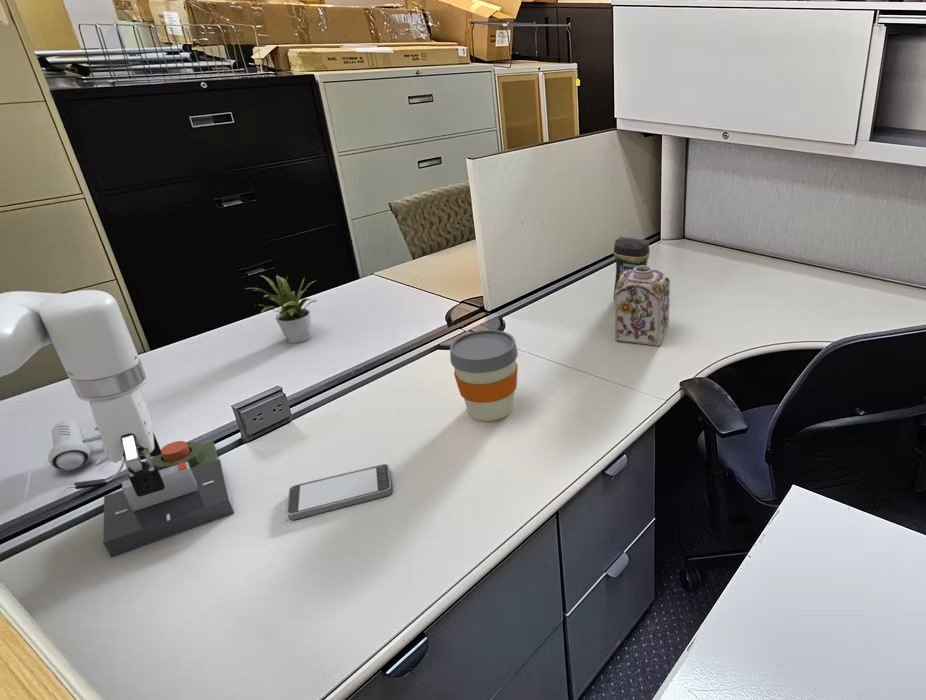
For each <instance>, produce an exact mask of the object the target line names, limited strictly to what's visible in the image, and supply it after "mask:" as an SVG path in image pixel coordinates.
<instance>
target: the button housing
mask: <svg viewBox="0 0 926 700" xmlns="http://www.w3.org/2000/svg"><path fill="white" fill-rule="evenodd" d="M185 442H186V443H187V445H188V447H189V450H190V454H189V455H188V456H186V457H184V458H182V459H180V460H177V461H174V462H165V461H164V459H163V457H162V454H160V455H158V456H154V457H151V458H152V462H153V465H154V466H157V468H158V470H162V469H166V468H169V467H172V466H175V465H178V464H179V463H182V462H185V461H186V462H188V463H189V466H190V468H194V467H197V466H200V465H204V464H207V463H210V462H213V461H216V460H219V459H220V458H219V455H218V450H217V446H216V445H215V442H214V441H210V442H207V443H203V444H200V443H197V442H195V441H185ZM145 462H146V461H145ZM146 463H147V462H146Z"/></svg>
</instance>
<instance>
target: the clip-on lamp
mask: <svg viewBox="0 0 926 700" xmlns="http://www.w3.org/2000/svg"><path fill="white" fill-rule="evenodd" d="M94 430H95V432H99V429H98V427H97V426H96V427H95V428H94ZM51 438H52V448H50V451H49V453H48V456H47V458H48V463H49V464H50V465H51V467H52V468H53V469H56V470H59V471H73V470H77V469H80V468H82V467H84V466H85V465H86V464H88V462H89V461H90V459H91V457H92V451H91V449H90V447H89V446H88V444H87V442H88V443H91V442H94V441H99V440H100V441H101V440H103V439H102V437H101V434H100V433H98V434H95V435H89V436H86V437H84V435H83V433H82V429H81V425H80V424H79V423H77V422H76V421H73V420H64V421H59V422H58V423H56V424H55V425H54V426H52V429H51ZM101 445H102V447H103V449H104V451H103V453H102V455H101V456H100V457H99V458H98V459H97V460H96V462H95V463H94V465H95V467H98V466H100V465H102V464H104V463H105V462H107V461H108V460H110V457H109V455H108V456H106V455H107V453H108V452H107V450H106V447H105V444H104V442H103V441H101ZM105 456H106V457H105ZM121 461H122V462H121V464H120V467H119V468H118V470H117V471H116V473H115V474H114V475H113V476H112V477H111V478H108V479H107V480H105V479H104V478H99V479H91V480H82V481H77V482H74V483H73V485H68V486H67V489H73V488H74V489H75V490H83V489H90V488H96V487H104V486H105V485H106V484H107V483H109V482H112V481H113V480H114V479H115V478H117V477H118V475H119V474H120V472H121V471H122V469H123V468H124V466H125V461H124V458H123V457H122V460H121ZM103 485H104V486H103Z"/></svg>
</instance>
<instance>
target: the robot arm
mask: <svg viewBox="0 0 926 700" xmlns="http://www.w3.org/2000/svg"><path fill="white" fill-rule="evenodd" d="M50 344H52V345H53V347H54V349H55V352H56V353H57V355H58V358H59V360H60V362H61V364H62V367H63V368H64V371H65V373H66V375H67V377H68V379H69V381H70V384H71V387H72V388H73V390H74V392H75V394H76V396H77V398H78V399H79V400H82V401H84V402H89V405H90V410H91V412H92V413H91V414H92V416H93V419H94V421H95V424H96V427H98V429H99V430H98V432H99V434H101V437H102V439H101V440H102V442H104V445H105V447H106V450H107V452H106V453H107V454H108V456H109V457H110V459H109V460H110V462H112V463H115V464H116V463H118V462H120V461H123V458H124V461H125V462H124V465H125V467H126V471H127V477H128V480H130V481H131V483H132V486H133V488H134V490H135V492H136V495H137V496H139V497H141V496H144V495H147V494H151V493H154V492H157V491H160V490H163V489H164V488H165V485H164V482H163V480H162V477H161V475H160V473H159V470H158V468H157V466H154V465H153V462H152V458H153V457H154V456H158V455H160V454H161V449H162V448H161V447H160V444H159V441H158V440H157V437H156V435H155V432H154V427H153V422H152V416H151V413H150V411H149V407H148V405H147V402H146V399H145V397H144V394H143V391H142V390H141V389H142V387H144V385H146V383H147V382H148V377H147V374H146V371H145V369H144V367H143V364H142V362H141V359H140V357H139V353H138V352H137V349H136V346H135V344H134V342H133V339H132V336H131V334H130V331H129V328H128V327H127V323H126V321H125V319H124V316H123V313H122V310H121V309H120V306H119V304H118V301H117V300H116V298H115V297H114V296H113V295H111V294H110V293H109V292H106V291H103V290H97V289H84V290H74V291H69V292H65V293H61V292H60V293H56V292H40V291H27V290H22V291H21V290H15V291H7V292H2V293H0V378H1V377H5V376H7V375H10V374H12V373H14V372H15V371H17V370H19V369H20V368H21V367H22V366H23V365H24V364H26V362H28V361H29V359H31V357H32V356H34V355H35V354H36V353H38V351H39V350H40V349H42V348H44V347H46V346H48V345H50ZM146 462H147V463H146Z"/></svg>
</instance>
